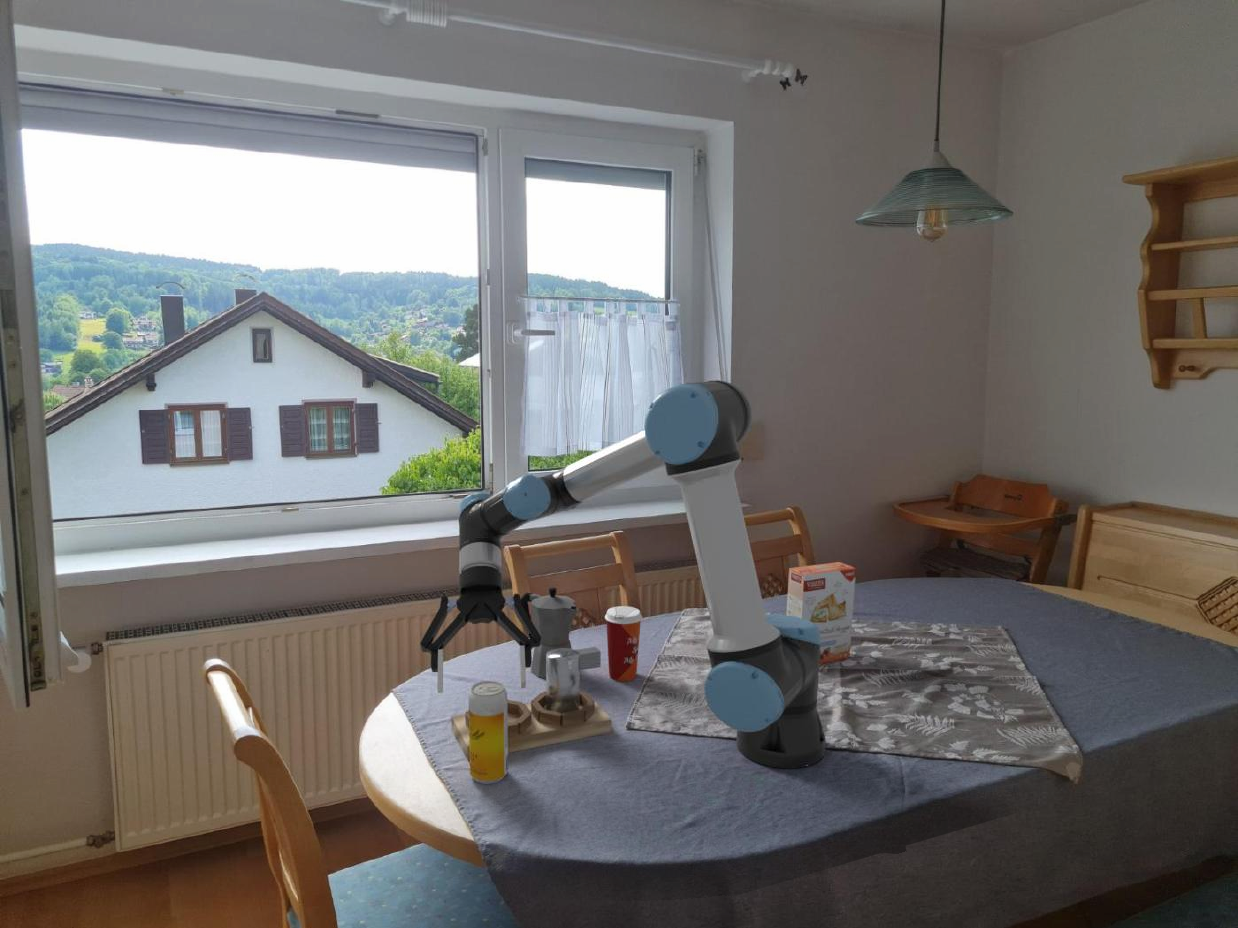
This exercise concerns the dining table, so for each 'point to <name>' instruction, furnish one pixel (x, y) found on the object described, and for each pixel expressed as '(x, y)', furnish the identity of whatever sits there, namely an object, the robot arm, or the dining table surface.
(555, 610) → the coffeepot
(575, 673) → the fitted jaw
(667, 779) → the dining table surface
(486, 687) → the beer can
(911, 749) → the dining table surface
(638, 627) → the paper cup
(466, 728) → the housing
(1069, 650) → the dining table surface
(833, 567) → the cracker box
